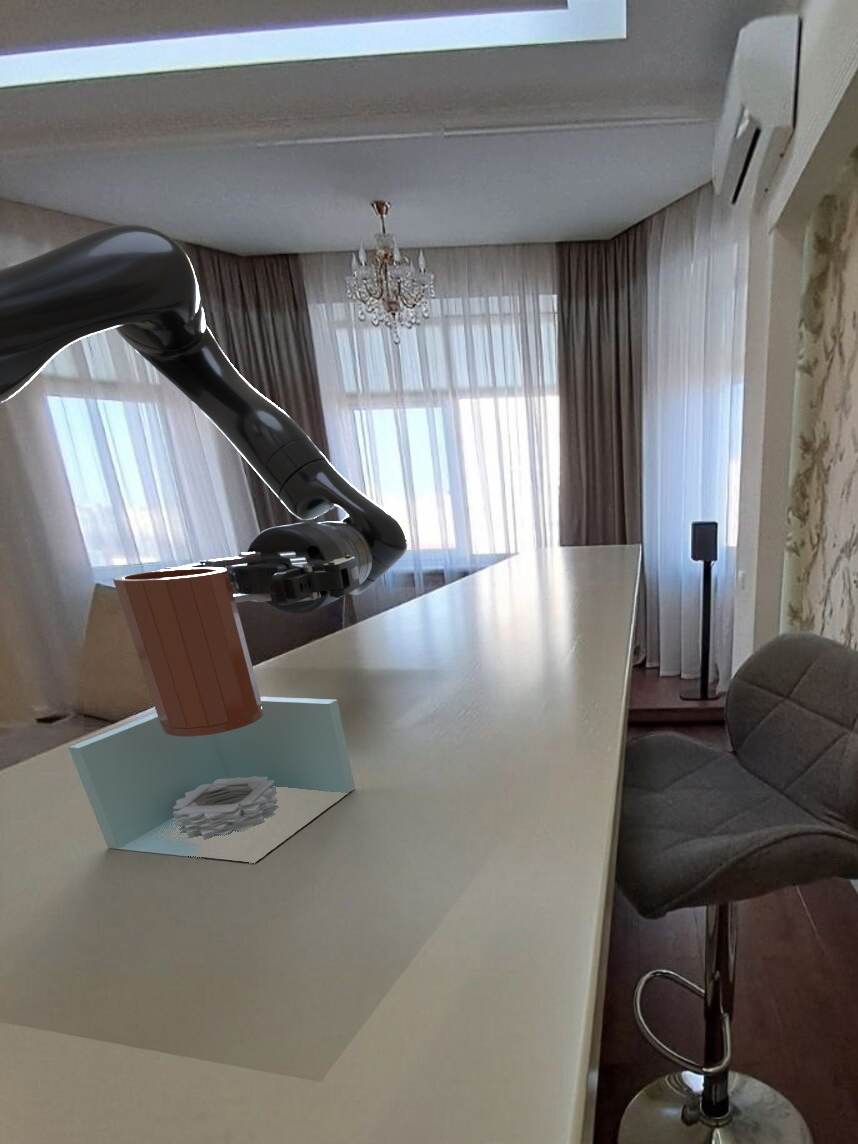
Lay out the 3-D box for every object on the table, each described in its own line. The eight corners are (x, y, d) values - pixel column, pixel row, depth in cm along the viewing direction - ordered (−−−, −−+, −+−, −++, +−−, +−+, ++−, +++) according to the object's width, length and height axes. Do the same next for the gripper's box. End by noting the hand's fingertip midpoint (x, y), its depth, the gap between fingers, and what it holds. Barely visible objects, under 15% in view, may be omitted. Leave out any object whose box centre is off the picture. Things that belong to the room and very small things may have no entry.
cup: (140, 735, 46) (87, 581, 42) (205, 706, 52) (164, 568, 47) (225, 738, 45) (179, 580, 40) (281, 708, 50) (247, 566, 46)
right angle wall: (108, 847, 47) (68, 747, 44) (230, 779, 58) (205, 694, 55) (255, 863, 45) (224, 757, 41) (355, 789, 55) (336, 699, 52)
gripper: (222, 526, 63) (107, 541, 48) (375, 520, 63) (307, 534, 48) (243, 609, 66) (142, 647, 51) (388, 604, 66) (329, 640, 51)
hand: (222, 592), depth 50 cm, fingers open, 8 cm apart
